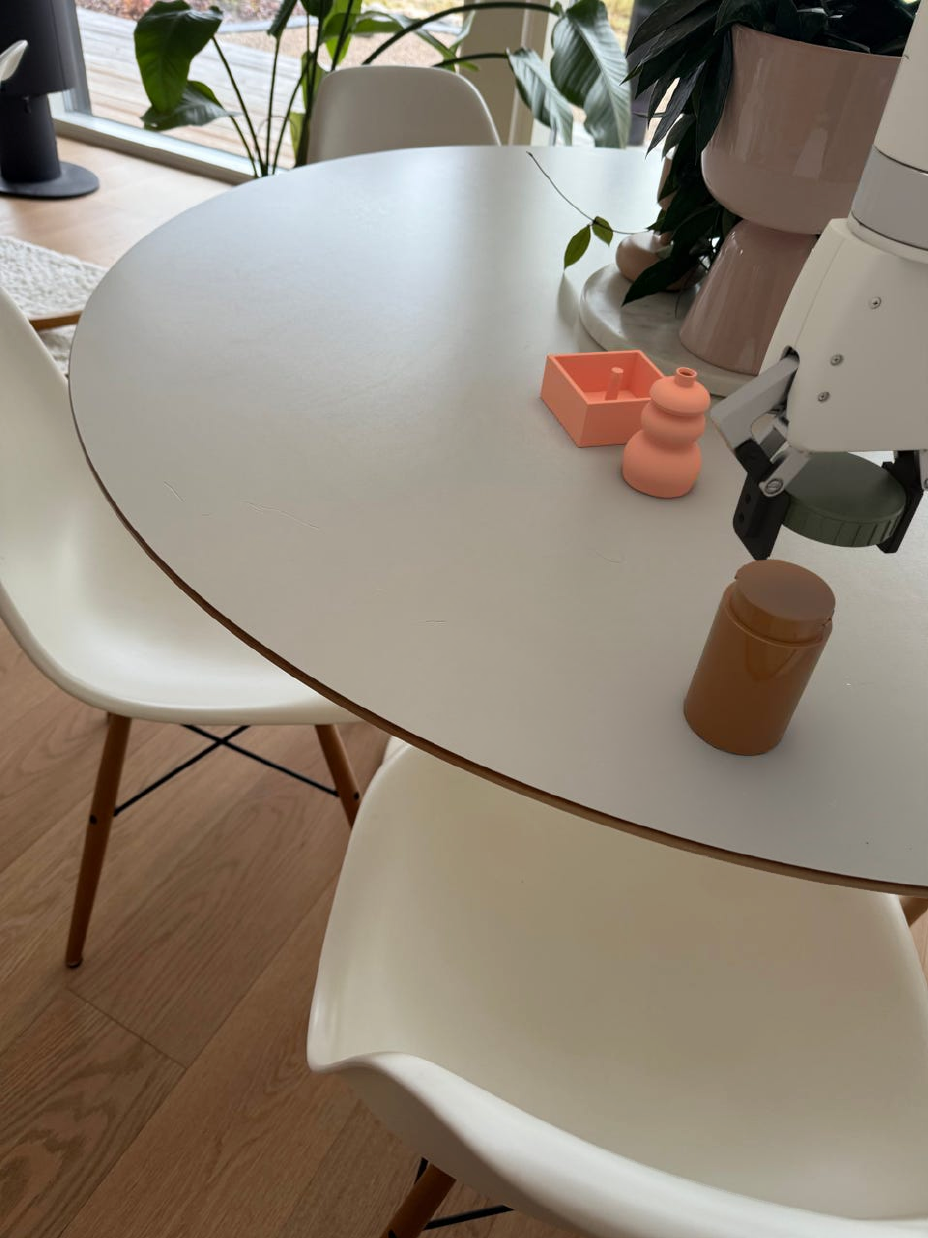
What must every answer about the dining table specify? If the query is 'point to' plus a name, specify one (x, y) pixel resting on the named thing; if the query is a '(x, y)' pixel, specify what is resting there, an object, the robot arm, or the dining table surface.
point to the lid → (843, 501)
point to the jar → (759, 656)
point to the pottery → (631, 414)
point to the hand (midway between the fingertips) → (814, 540)
